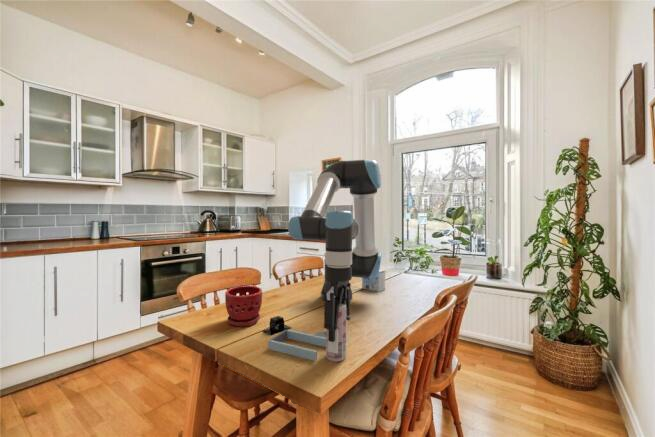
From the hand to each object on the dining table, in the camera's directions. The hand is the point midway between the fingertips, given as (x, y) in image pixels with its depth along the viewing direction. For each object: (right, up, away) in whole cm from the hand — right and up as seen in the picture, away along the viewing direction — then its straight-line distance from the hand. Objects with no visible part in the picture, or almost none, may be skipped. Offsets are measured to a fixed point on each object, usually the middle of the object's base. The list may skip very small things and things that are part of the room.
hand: (337, 347), depth 84 cm
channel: (-11, -3, +6) cm, 13 cm away
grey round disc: (-4, -3, +12) cm, 13 cm away
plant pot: (-34, -2, +26) cm, 42 cm away
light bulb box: (+22, -2, +75) cm, 78 cm away
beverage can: (0, -3, 0) cm, 3 cm away
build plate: (-20, -3, +19) cm, 28 cm away
